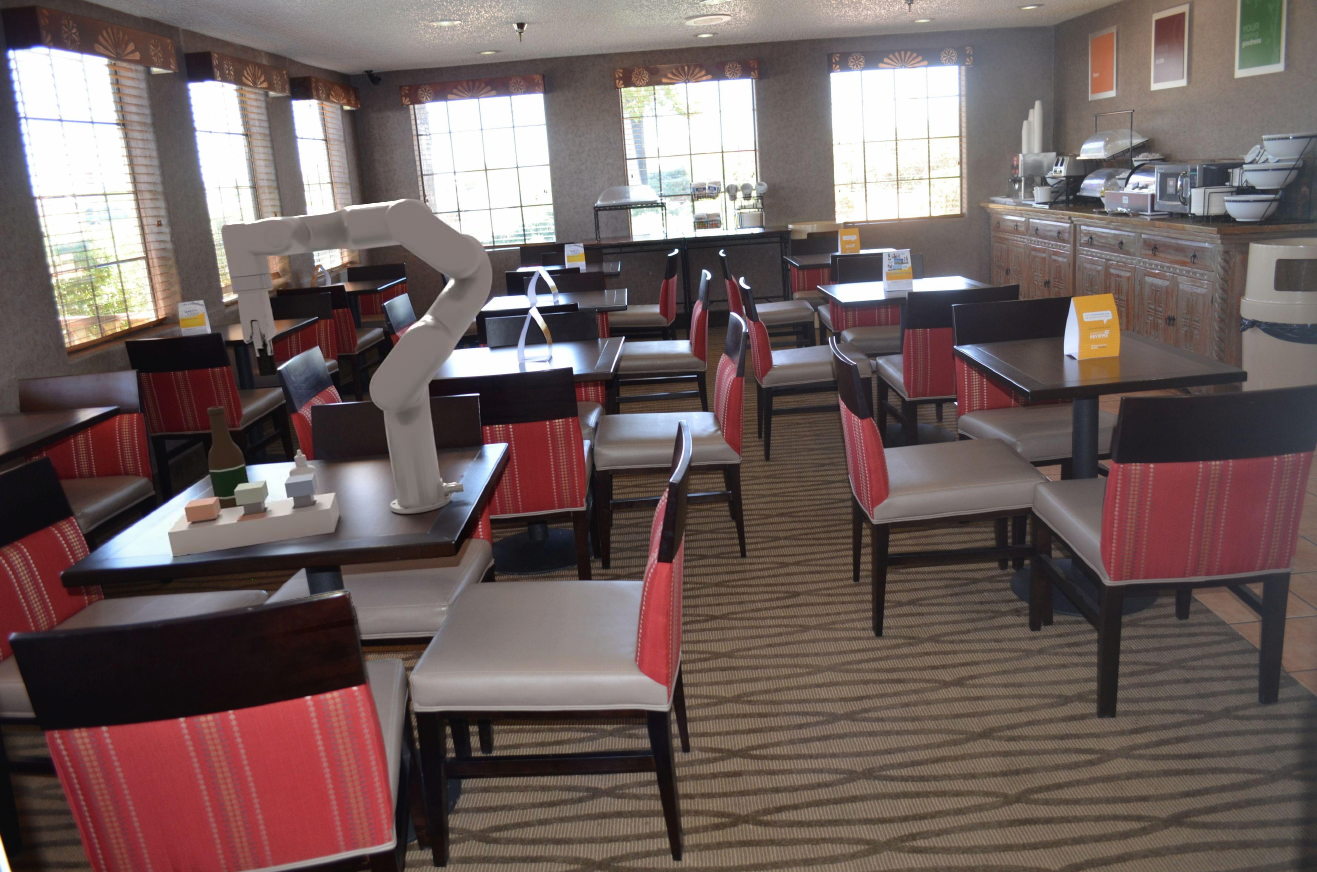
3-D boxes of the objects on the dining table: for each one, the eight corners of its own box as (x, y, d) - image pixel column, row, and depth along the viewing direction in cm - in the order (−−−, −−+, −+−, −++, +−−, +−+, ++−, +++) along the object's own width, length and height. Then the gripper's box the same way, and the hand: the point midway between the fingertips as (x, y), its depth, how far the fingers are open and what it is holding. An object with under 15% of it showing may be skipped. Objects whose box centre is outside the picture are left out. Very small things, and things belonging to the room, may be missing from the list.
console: (339, 514, 202) (335, 491, 201) (334, 532, 191) (329, 506, 189) (187, 537, 196) (182, 513, 195) (173, 556, 184) (167, 531, 183)
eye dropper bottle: (312, 504, 212) (302, 452, 209) (291, 504, 214) (281, 452, 211) (324, 498, 216) (315, 447, 213) (304, 498, 218) (294, 447, 215)
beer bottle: (260, 506, 214) (240, 402, 209) (247, 517, 207) (225, 409, 201) (226, 509, 214) (204, 405, 209) (211, 520, 207) (188, 412, 201)
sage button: (273, 517, 196) (265, 480, 194) (269, 525, 191) (261, 486, 189) (246, 521, 195) (238, 484, 193) (241, 529, 190) (233, 490, 188)
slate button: (321, 510, 198) (314, 473, 196) (318, 517, 193) (311, 479, 191) (295, 514, 197) (288, 477, 195) (291, 521, 192) (284, 483, 190)
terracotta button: (225, 534, 194) (218, 496, 192) (220, 542, 189) (212, 503, 187) (198, 538, 193) (190, 500, 191) (192, 546, 188) (184, 507, 186)
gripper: (239, 284, 197) (255, 372, 201) (224, 289, 183) (242, 382, 187) (277, 280, 198) (293, 367, 203) (265, 284, 184) (283, 378, 189)
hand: (268, 374), depth 195 cm, fingers closed
